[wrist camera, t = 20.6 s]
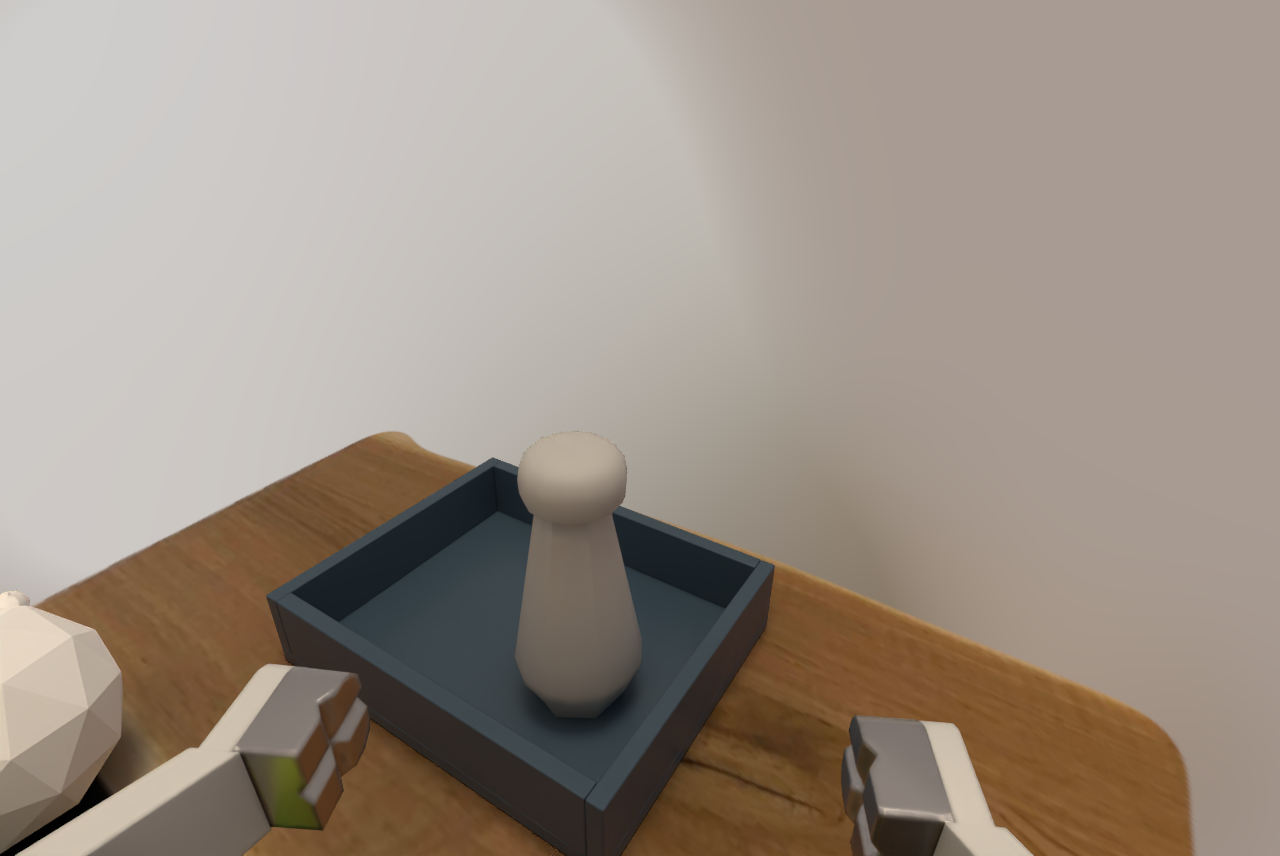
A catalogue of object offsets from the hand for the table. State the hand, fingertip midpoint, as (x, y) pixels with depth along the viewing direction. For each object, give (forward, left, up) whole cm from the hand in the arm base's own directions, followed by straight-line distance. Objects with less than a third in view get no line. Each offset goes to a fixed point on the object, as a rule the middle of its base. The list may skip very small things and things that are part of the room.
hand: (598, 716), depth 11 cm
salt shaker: (+3, -15, -17) cm, 23 cm away
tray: (+6, -18, -17) cm, 26 cm away
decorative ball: (+26, -7, -18) cm, 32 cm away
